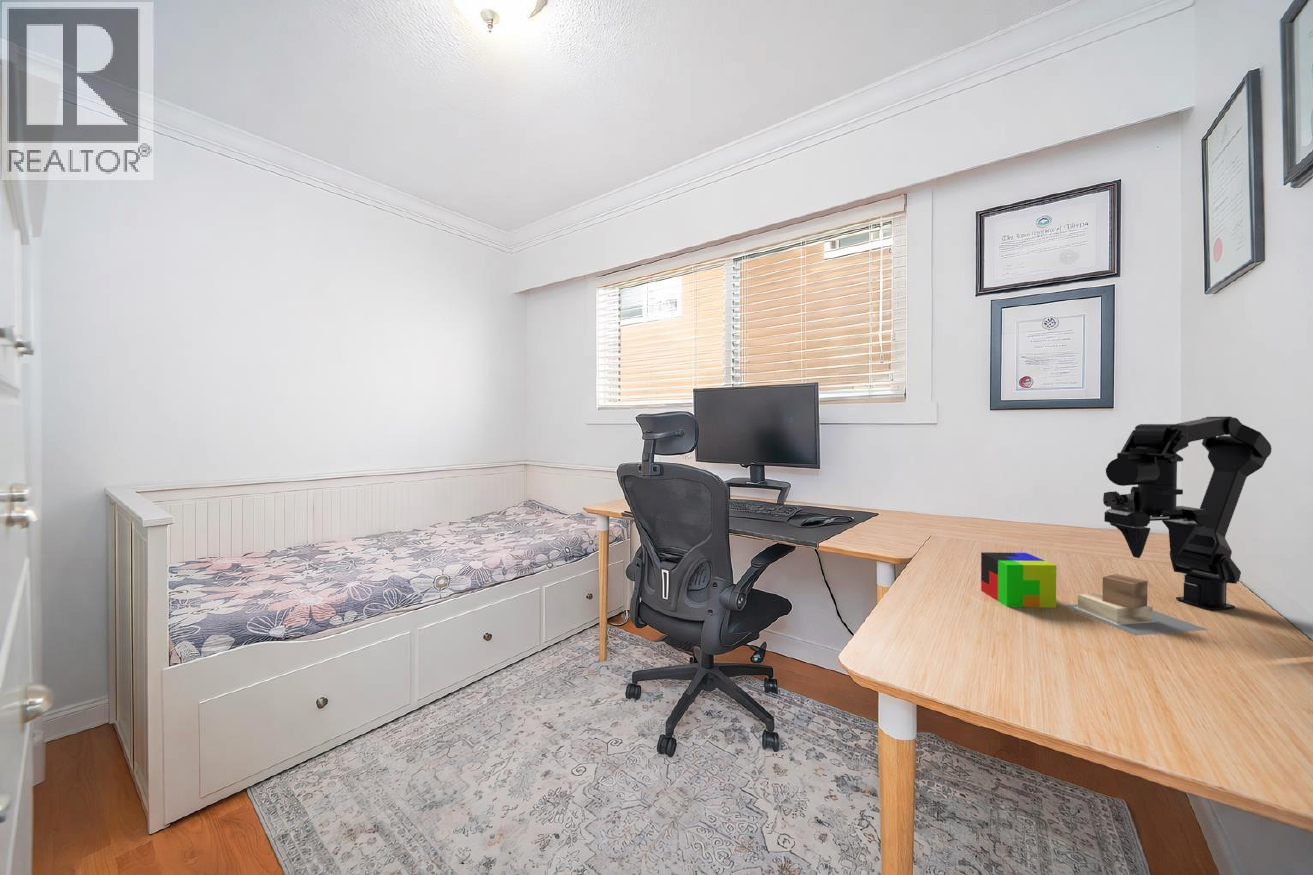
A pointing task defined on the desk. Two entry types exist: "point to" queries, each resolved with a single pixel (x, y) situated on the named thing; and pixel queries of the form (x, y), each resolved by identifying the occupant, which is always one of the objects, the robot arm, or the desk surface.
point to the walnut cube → (1125, 591)
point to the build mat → (1146, 623)
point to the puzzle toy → (1018, 579)
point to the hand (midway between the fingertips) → (1155, 556)
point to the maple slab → (1113, 609)
